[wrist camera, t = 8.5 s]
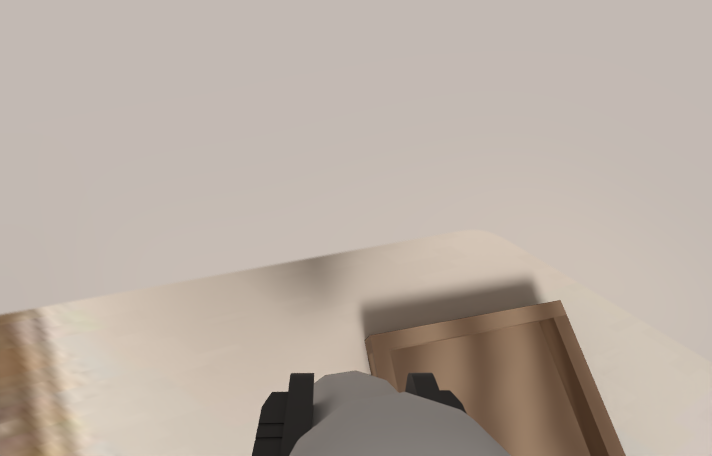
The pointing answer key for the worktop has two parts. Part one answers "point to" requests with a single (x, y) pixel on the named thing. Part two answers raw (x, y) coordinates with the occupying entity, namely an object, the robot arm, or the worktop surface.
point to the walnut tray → (508, 378)
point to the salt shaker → (387, 423)
